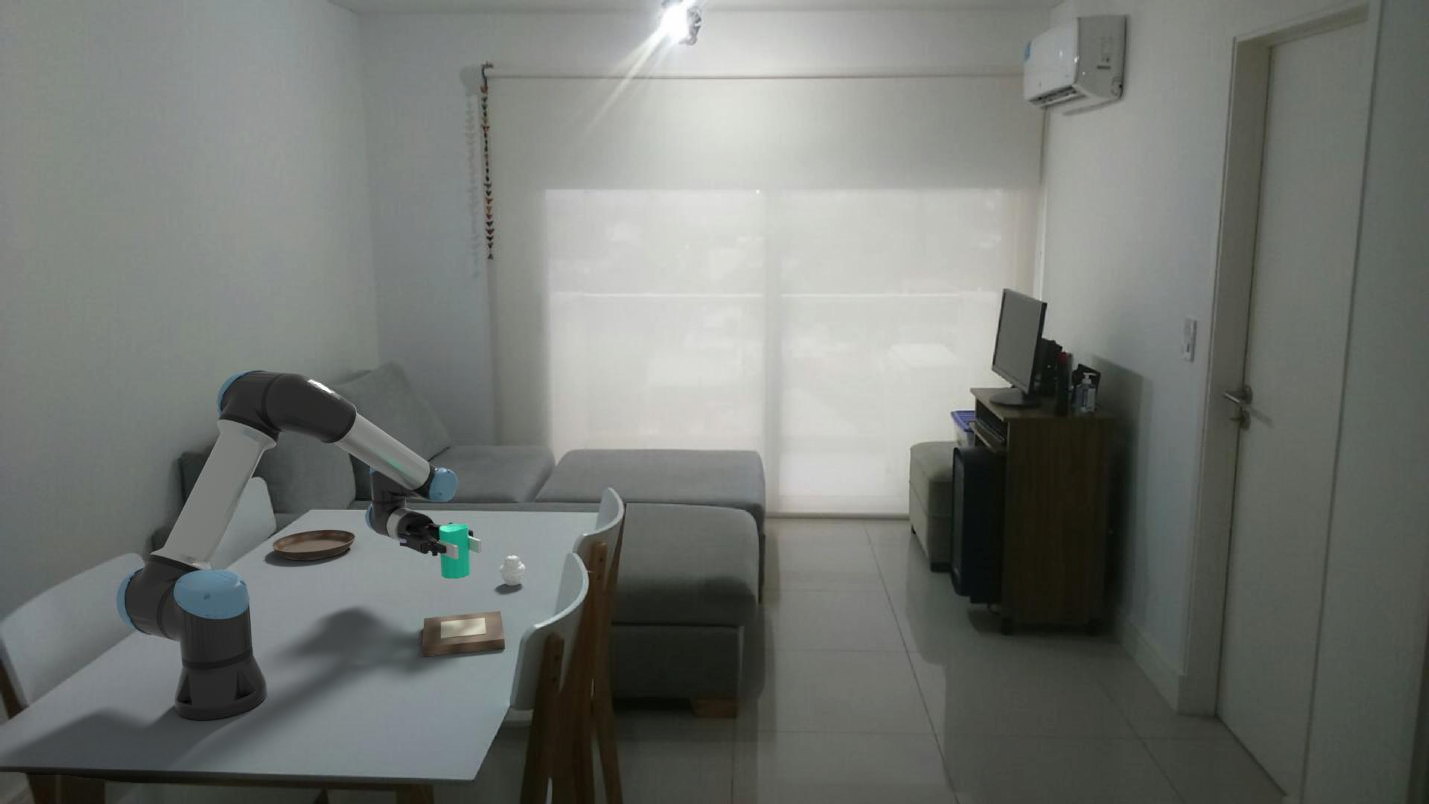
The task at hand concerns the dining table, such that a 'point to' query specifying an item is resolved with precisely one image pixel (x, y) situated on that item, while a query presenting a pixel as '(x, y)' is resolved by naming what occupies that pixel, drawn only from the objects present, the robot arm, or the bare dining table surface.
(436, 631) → the plinth
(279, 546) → the plant saucer
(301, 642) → the dining table surface
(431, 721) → the dining table surface
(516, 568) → the white rounded piece
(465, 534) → the candle
